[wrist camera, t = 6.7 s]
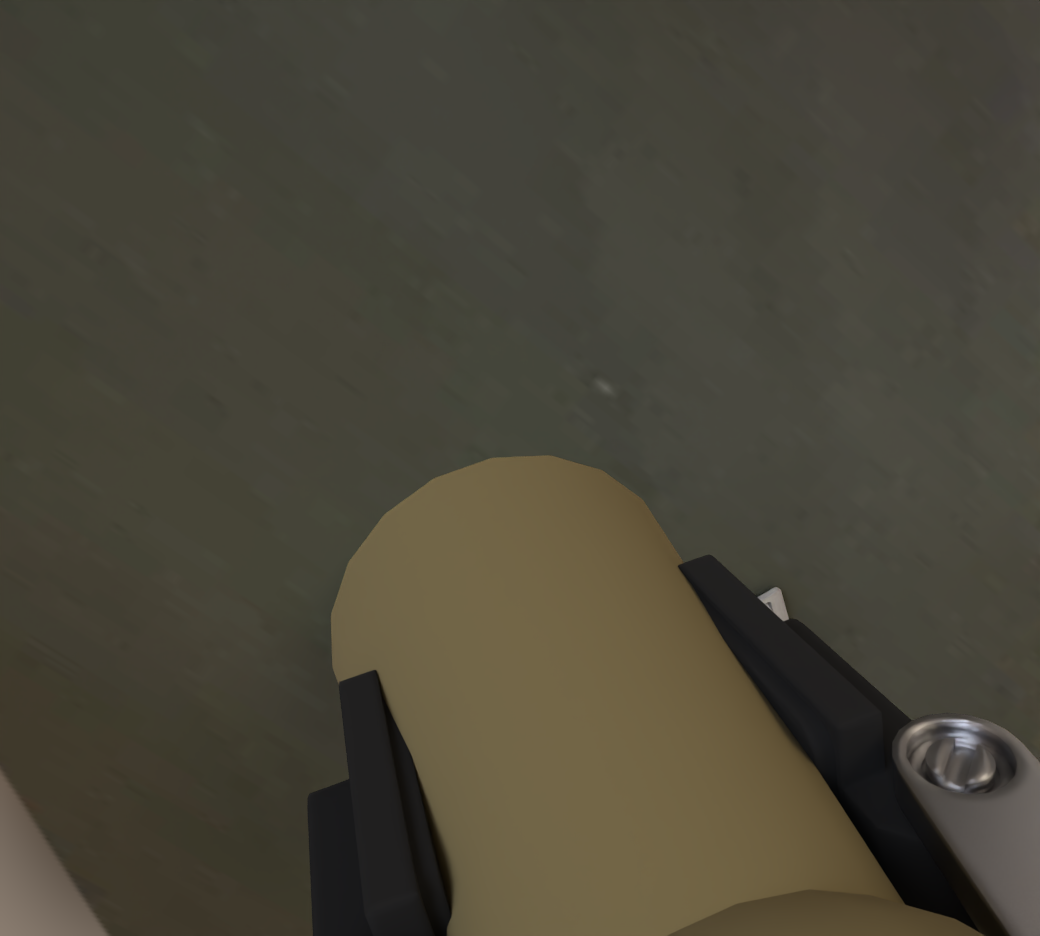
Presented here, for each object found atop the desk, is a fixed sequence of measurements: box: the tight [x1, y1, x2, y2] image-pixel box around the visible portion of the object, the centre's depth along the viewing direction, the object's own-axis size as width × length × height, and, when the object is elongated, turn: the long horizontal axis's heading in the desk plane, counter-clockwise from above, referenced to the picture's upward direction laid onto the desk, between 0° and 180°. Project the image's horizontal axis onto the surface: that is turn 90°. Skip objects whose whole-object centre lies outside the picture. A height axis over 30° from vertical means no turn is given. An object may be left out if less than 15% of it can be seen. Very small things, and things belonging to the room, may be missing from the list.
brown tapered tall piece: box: [331, 455, 985, 936], centre depth 9 cm, size 6×6×11 cm
